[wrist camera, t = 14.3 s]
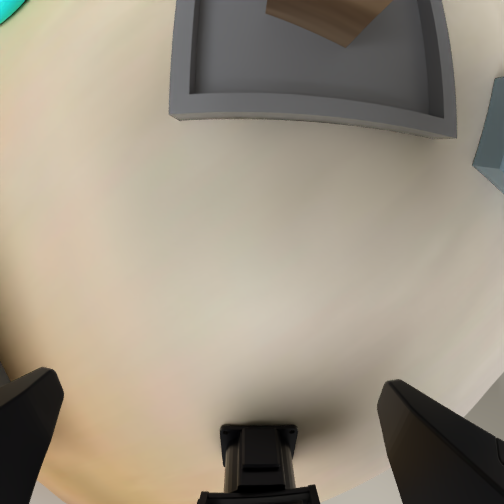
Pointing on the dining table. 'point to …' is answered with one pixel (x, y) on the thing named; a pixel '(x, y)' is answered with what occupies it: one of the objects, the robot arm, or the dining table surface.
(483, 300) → the dining table surface
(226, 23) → the tray
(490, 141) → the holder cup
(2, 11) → the donuts
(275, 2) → the brown rectangular block
